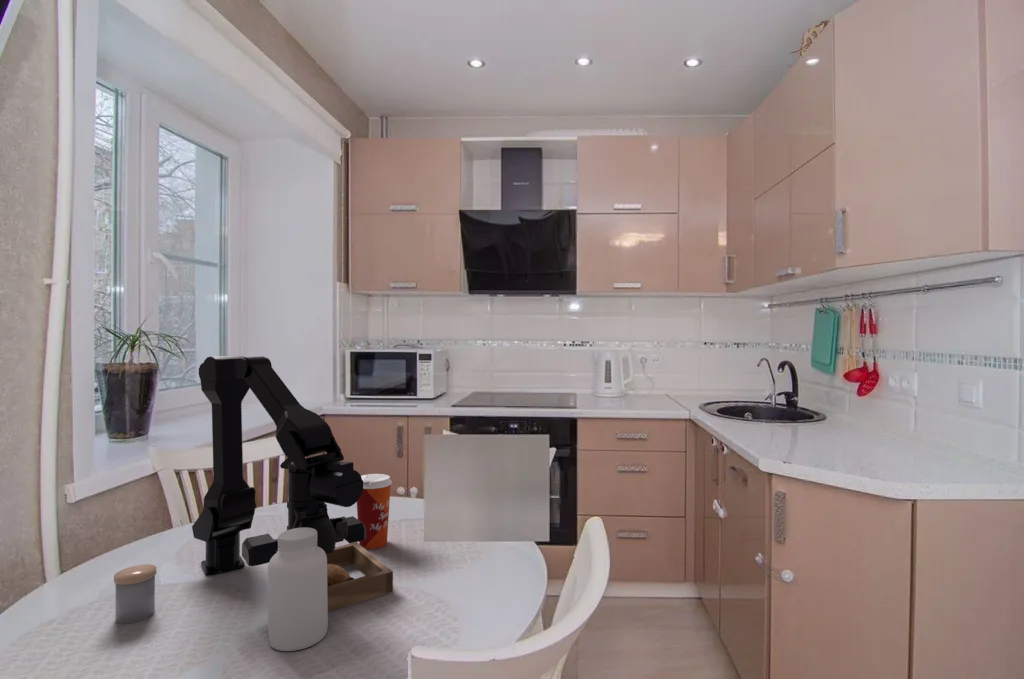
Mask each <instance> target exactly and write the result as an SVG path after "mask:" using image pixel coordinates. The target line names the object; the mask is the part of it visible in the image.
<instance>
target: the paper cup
mask: <svg viewBox="0 0 1024 679" xmlns="http://www.w3.org/2000/svg"><path fill="white" fill-rule="evenodd" d="M361 478H362V480H363V491H362V494H361V496H360V498H359V499H358V501H357V502H356V512H357V519H358V520H359V521H360V522H362V523H363V524H364V525H365V527H366V539H365V540H363V541H359V542H358V544H359V545H361V546H362V547H363V548H364V549H366V550H377V549H380V548H381V549H382V548H384V547H385V546H386V545H387V544H388V535H389V534H388V533H389V532H388V531H389V518H390V516H389V515H390V500H391V499H390V497H391V485H392V484H393V482H392V480H391V476H390V475H388V474H386V473H369V474H363V475H361Z"/></svg>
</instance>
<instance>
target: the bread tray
mask: <svg viewBox="0 0 1024 679" xmlns="http://www.w3.org/2000/svg"><path fill="white" fill-rule="evenodd" d="M326 556H327V565H328V564H334V565H338V566H340V567H342V568H343V567H345V566H350V565H354V567H356V568H357V569H358V570H359V571H360V572H361V573H363V576H360V577H356V578H354V579H352V580H349V581H345V582H342V583H338V584H334V585H331V586H327V598H328V613H329V612H333V611H336V610H340V609H343V608H345V607H349V606H353V605H355V604H358V603H361V602H364V601H368V600H371V599H375V598H378V597H382V596H384V595H387V594H390V593H391V594H392V593H393V592H394V571H393V570H392V569H390V567H388V566H387V565H386V564H385V563H383V562H382V561H381V560H379V559H378V558H377V557H375V555H373V554H372V553H370V552H369V551H368V549H364V548H363V547H362V546H361V545H359V542H354V543H348V544H344V545H339V546H335V550H334V551H333V552H332V553H328V554H326Z"/></svg>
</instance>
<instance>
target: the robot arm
mask: <svg viewBox="0 0 1024 679" xmlns="http://www.w3.org/2000/svg"><path fill="white" fill-rule="evenodd" d="M198 376H199V380H200V385H201V386H200V389H201V391H202V393H203V394H204V396H205V397H206V398H207V399H208V401H209V403H211V404H210V405H211V422H212V423H211V426H212V427H211V428H212V461H213V462H212V467H213V469H212V471H213V472H212V474H213V477H212V479H213V480H212V481H213V482H212V483H211V484H210V487H209V488H208V490H207V492H206V494H205V495H204V497H203V505H202V506H203V507H202V511H201V513H200V515H199V516H198V518H196V520H195V522H194V523H193V525H192V526H191V529H192V530H191V531H192V535H193V539H196V540H199V541H201V542H205V560H202V561H201V562H200V565H201V567H202V570H203V572H204V574H205V576H210V575H213V574H218V573H223V572H226V571H227V572H228V571H231V570H236V569H239V568H243V567H245V566H246V565H245V564H247V565H248V567H256V566H261V565H264V564H269V561H270V559H271V558H272V557H273V556H274V555H275V554H276V553H277V552H278V538H275V539H274V538H273V537H272V536H271V535H270V533H265V534H264V533H263V534H260V535H255V536H249V537H246V538H245V539H244V541H242V544H241V543H240V542H241V540H240V539H241V532H242V531H244V530H250V529H251V528H252V524H253V520H254V516H255V513H256V512H255V511H256V509H257V508H258V507H257V504H256V492H257V491H256V488H255V487H253V486H252V487H251V486H249V484H248V483H247V482H246V480H245V479H244V463H243V462H244V457H243V456H244V452H243V421H242V420H243V416H242V415H243V412H242V409H243V408H242V402H243V401H244V398H245V397H246V395H247V393H248V392H249V390H251V392H252V393H253V395H254V396H255V397H256V398H257V400H258V401H259V403H260V404H261V405H262V407H263V408H264V410H265V411H266V412H267V414H268V415H269V416H270V418H271V419H272V421H273V423H274V425H275V426H276V429H275V439H276V441H277V443H278V445H279V447H280V448H281V450H282V453H283V454H284V456H286V459H285V460H284V461H282V462H281V463H280V466H279V467H280V468H281V469H283V470H288V473H287V474H288V476H287V477H288V478H287V479H288V481H287V484H288V486H287V488H288V490H287V492H288V494H287V495H288V496H287V501H286V508H287V510H288V511H287V513H288V514H287V519H288V521H287V525H286V531H287V530H290V529H295V528H313V529H315V530H316V531H317V546H318V547H320V548H322V549H323V550H324V551H325V553H326V554H328V553H332V552H333V551H334V550H335V547H336V545H337V544H336V543H341V542H344V541H346V542H347V543H348V544H351V543H355V542H357V543H359V541H363V540H365V539H366V527H365V525H364V524H363V523H362V522H360V521H359V520H358V518H356V517H355V516H348V517H346V516H340V517H332V518H330V516H329V514H328V504H330V505H334V506H338V507H344V508H350V507H352V506H354V505H355V504H357V501H358V499H359V498H360V496H361V494H362V491H363V480H362V478H361V476H362V475H361V473H360V472H358V471H357V470H355V469H354V462H353V461H344V460H345V456H344V455H343V452H342V448H341V447H340V445H338V443H337V440H336V438H335V436H334V434H333V432H332V429H331V426H330V425H329V424H328V423H327V421H325V419H323V418H322V416H320V414H317V413H316V412H314V411H312V410H310V409H307V408H305V407H304V406H303V405H302V404H300V402H299V401H298V399H297V398H296V397H295V396H294V395H293V393H292V391H290V389H289V388H288V387H287V385H286V384H285V383H284V381H283V380H282V378H281V377H280V376H279V375H278V373H277V372H276V371H275V370H274V368H273V366H272V362H271V359H269V358H268V357H266V356H263V355H259V356H258V355H255V356H254V355H253V356H243V355H222V356H221V355H220V356H218V355H215V356H213V355H212V356H211V355H210V356H207V357H205V359H204V361H203V362H202V363H200V364H199V368H198ZM240 546H241V547H240ZM240 548H241V549H240ZM240 552H241V553H240Z"/></svg>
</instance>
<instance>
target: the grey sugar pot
mask: <svg viewBox="0 0 1024 679" xmlns="http://www.w3.org/2000/svg"><path fill="white" fill-rule="evenodd" d="M156 575H157V566H156V565H154V564H149V563H148V564H145V563H144V564H137V565H133V566H129V567H125V568H124V569H121V570H119V571H117V572H115V574H114V575H113V583H114V584H115V606H114V607H115V608H114V609H115V613H114V614H115V617H114V618H115V622H116V623H117V624H119V625H128V624H129V625H131V624H136V623H139V622H142V621H144V620H146V619H148V618H150V617H151V616H153V615H154V614H155V612H156V609H155V608H156V607H155V606H156V603H155V602H156V598H155V597H156V596H155V595H156V594H155V593H156Z"/></svg>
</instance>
